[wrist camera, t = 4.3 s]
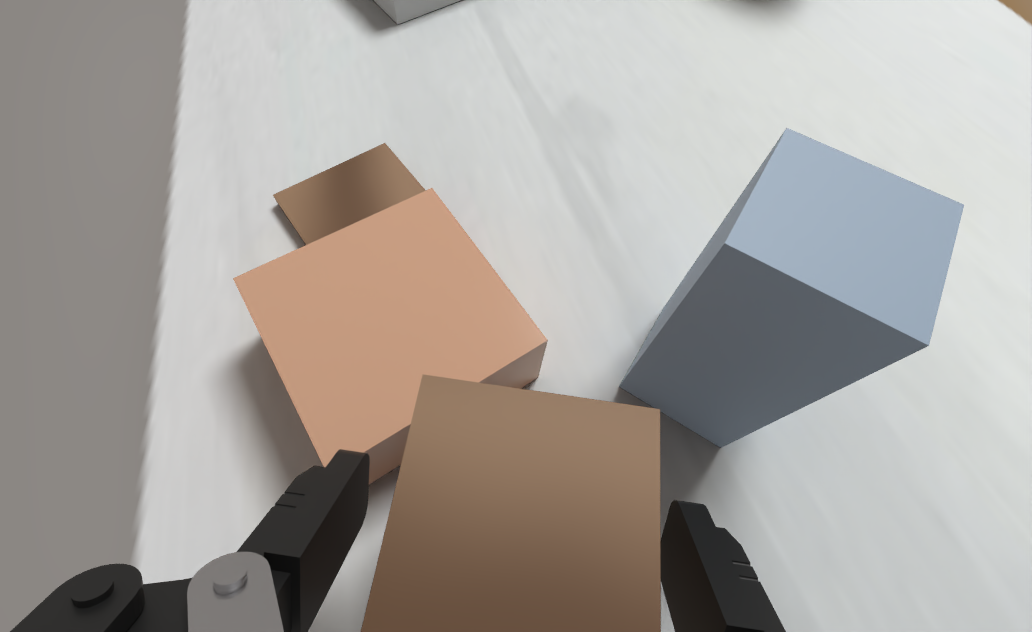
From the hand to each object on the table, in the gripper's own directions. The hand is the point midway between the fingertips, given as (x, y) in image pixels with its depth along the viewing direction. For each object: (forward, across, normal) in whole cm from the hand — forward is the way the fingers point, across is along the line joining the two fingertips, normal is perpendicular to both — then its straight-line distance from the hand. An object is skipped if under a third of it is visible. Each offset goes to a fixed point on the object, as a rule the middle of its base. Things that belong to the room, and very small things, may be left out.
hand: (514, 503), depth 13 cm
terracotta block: (+8, +5, 0) cm, 10 cm away
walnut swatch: (+12, +9, -5) cm, 16 cm away
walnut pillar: (+3, 0, +4) cm, 5 cm away
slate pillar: (+8, -7, -1) cm, 11 cm away
